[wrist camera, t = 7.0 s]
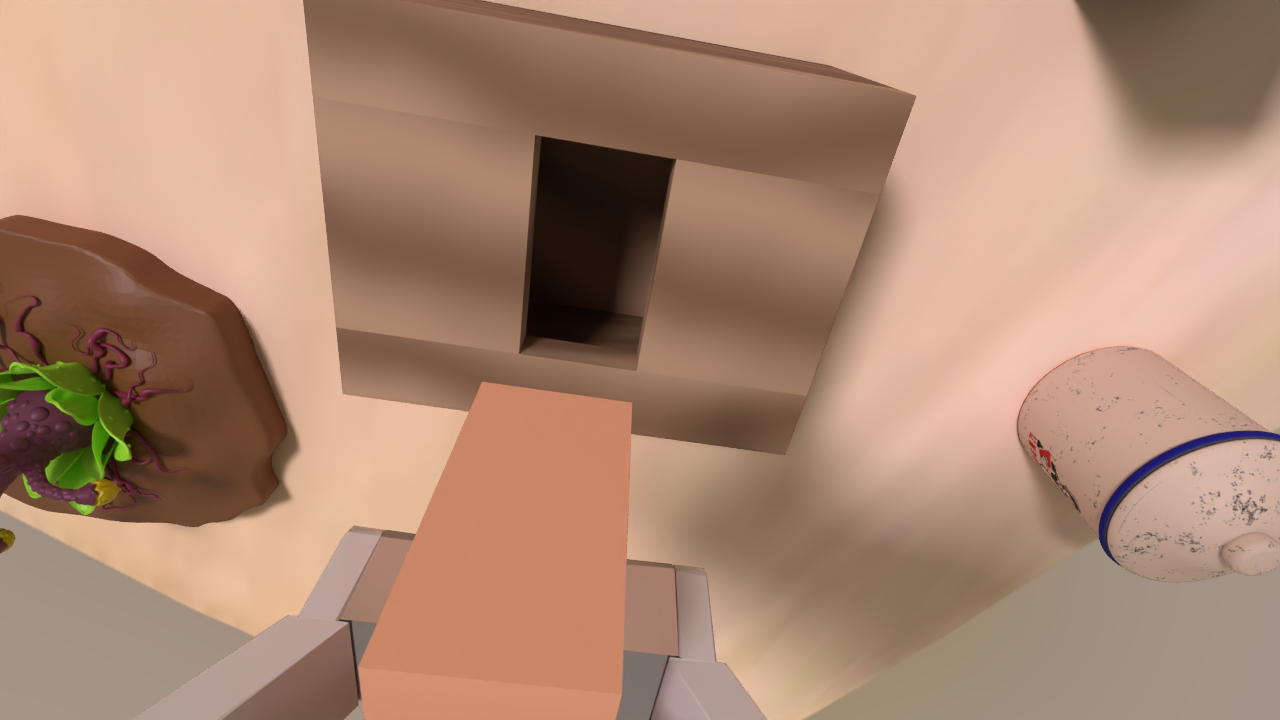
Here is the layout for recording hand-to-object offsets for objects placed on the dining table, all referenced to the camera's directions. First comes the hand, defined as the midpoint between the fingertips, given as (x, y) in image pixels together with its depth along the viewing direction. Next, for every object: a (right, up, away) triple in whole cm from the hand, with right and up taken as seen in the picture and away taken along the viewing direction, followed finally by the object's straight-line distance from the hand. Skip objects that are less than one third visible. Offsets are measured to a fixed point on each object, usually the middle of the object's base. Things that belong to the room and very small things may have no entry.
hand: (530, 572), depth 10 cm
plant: (-30, +3, +27) cm, 40 cm away
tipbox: (0, +12, +20) cm, 23 cm away
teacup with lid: (+30, 0, +27) cm, 40 cm away
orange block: (0, +1, +2) cm, 2 cm away
